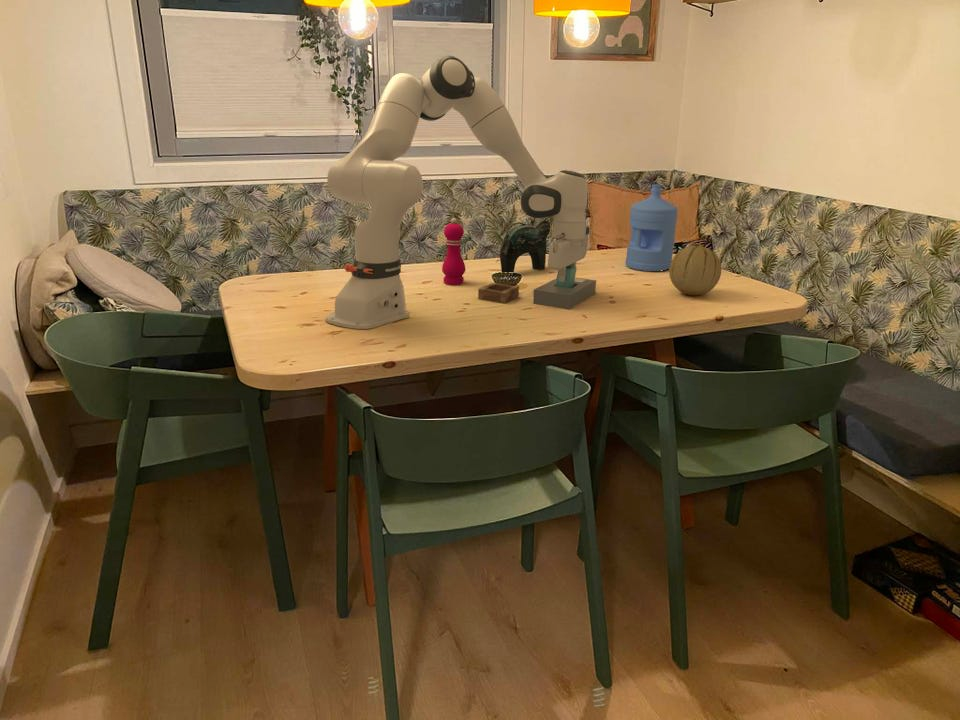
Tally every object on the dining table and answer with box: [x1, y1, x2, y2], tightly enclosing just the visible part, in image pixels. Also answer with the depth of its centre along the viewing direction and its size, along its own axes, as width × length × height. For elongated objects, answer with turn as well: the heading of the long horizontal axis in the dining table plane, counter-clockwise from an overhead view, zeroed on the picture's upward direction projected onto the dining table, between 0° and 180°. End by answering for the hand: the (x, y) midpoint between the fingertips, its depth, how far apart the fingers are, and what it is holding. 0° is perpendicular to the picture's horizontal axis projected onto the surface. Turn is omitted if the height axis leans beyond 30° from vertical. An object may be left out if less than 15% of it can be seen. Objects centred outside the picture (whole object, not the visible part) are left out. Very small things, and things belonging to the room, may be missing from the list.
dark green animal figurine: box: [499, 213, 551, 273], centre depth 227 cm, size 20×6×20 cm, turn 130°
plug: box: [556, 264, 577, 288], centre depth 198 cm, size 4×4×10 cm
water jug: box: [625, 183, 678, 272], centre depth 235 cm, size 16×16×28 cm
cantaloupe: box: [668, 242, 722, 296], centre depth 204 cm, size 15×15×15 cm
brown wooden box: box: [477, 282, 520, 304], centre depth 198 cm, size 9×9×3 cm
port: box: [532, 276, 597, 310], centre depth 199 cm, size 20×11×4 cm, turn 151°
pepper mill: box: [441, 217, 466, 286], centre depth 211 cm, size 7×7×20 cm
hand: (566, 279), depth 198 cm, fingers closed on plug, 4 cm apart
